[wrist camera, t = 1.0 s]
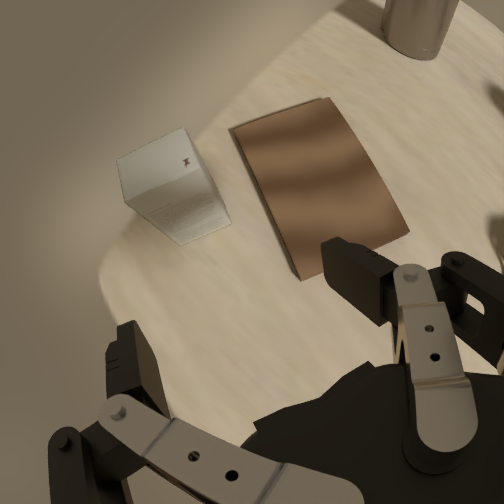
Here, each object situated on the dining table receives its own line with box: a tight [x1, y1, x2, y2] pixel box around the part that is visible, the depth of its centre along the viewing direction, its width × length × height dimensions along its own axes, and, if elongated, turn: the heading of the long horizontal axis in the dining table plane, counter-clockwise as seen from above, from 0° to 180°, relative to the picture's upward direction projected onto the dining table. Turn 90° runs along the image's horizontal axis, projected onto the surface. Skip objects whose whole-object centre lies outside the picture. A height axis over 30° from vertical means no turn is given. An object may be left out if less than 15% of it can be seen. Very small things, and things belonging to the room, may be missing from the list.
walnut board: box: [233, 97, 410, 281], centre depth 32 cm, size 18×12×1 cm, turn 22°
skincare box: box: [117, 127, 232, 246], centre depth 27 cm, size 6×4×12 cm
